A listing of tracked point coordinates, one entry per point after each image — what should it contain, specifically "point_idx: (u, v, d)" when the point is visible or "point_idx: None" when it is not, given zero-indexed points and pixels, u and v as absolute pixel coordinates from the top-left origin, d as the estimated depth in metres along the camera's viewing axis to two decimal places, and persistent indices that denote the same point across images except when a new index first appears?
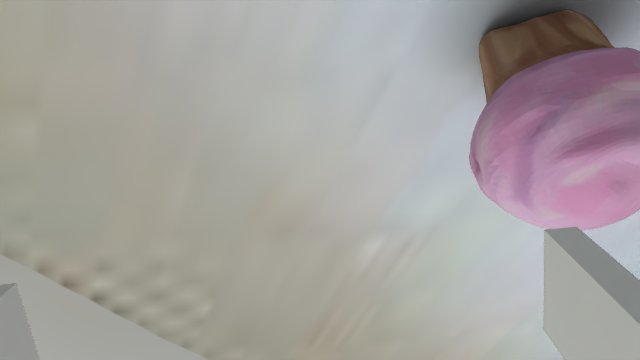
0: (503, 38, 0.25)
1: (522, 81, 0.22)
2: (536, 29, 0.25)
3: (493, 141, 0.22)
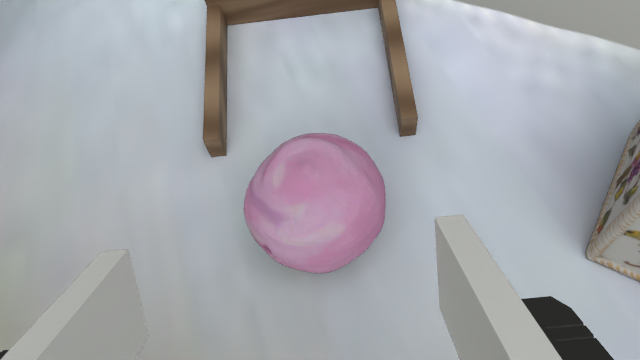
0: None
1: None
2: None
3: (248, 218, 0.33)
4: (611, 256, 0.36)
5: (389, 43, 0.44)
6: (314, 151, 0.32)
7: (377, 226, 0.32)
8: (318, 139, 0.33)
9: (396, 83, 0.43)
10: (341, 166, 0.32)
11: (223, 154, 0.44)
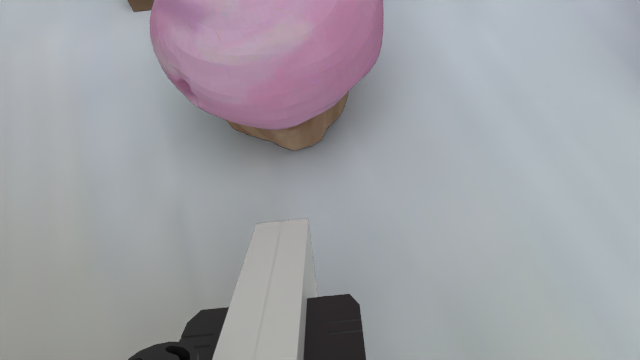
0: None
1: None
2: None
3: (153, 37, 0.20)
4: None
5: None
6: None
7: (370, 46, 0.19)
8: None
9: None
10: None
11: (150, 7, 0.30)
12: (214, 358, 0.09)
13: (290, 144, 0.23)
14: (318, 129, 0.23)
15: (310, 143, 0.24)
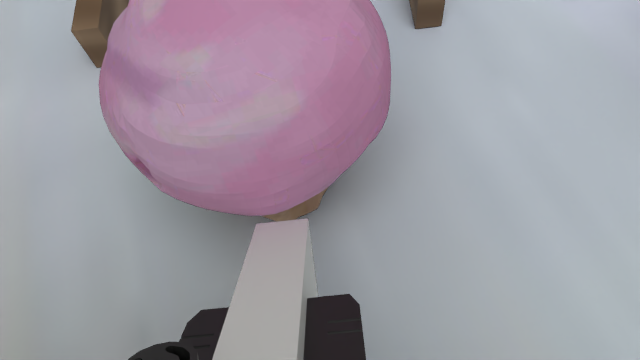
0: None
1: None
2: None
3: (102, 106, 0.16)
4: None
5: None
6: None
7: (377, 111, 0.15)
8: None
9: None
10: None
11: None
12: (214, 358, 0.09)
13: None
14: (313, 200, 0.19)
15: (304, 214, 0.20)
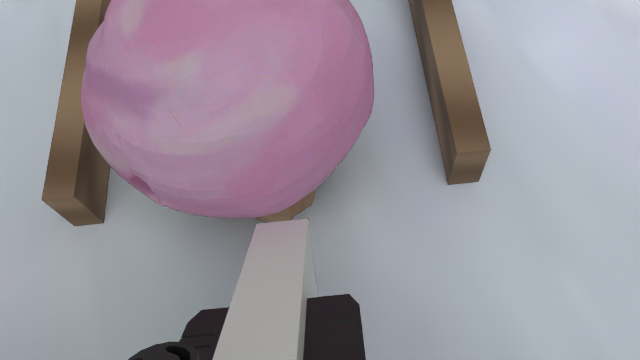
0: None
1: None
2: None
3: (89, 127, 0.15)
4: None
5: (423, 1, 0.23)
6: None
7: (365, 97, 0.15)
8: None
9: (441, 78, 0.21)
10: None
11: (97, 221, 0.22)
12: (214, 358, 0.09)
13: None
14: (308, 196, 0.19)
15: (299, 211, 0.20)
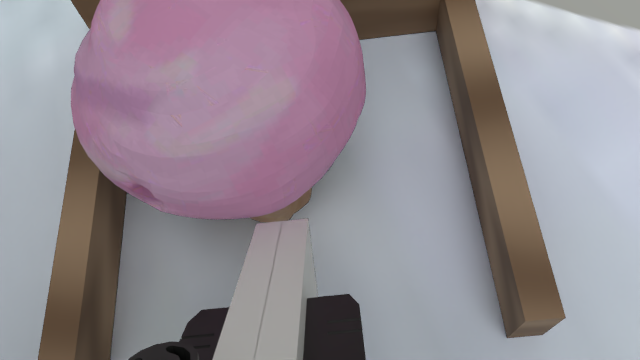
0: None
1: None
2: None
3: (84, 140, 0.15)
4: None
5: (476, 117, 0.20)
6: None
7: (359, 86, 0.16)
8: None
9: (502, 220, 0.18)
10: None
11: None
12: (214, 358, 0.09)
13: (280, 220, 0.19)
14: (306, 193, 0.19)
15: (298, 209, 0.20)
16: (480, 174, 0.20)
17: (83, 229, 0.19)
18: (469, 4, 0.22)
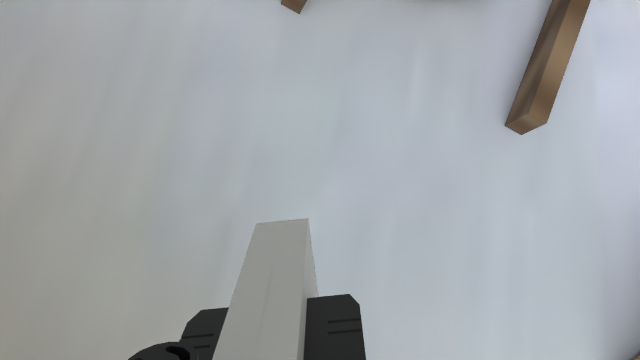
0: None
1: None
2: None
3: None
4: None
5: (568, 9, 0.33)
6: None
7: None
8: None
9: (547, 65, 0.32)
10: None
11: (296, 11, 0.31)
12: (214, 358, 0.09)
13: None
14: None
15: None
16: (547, 40, 0.33)
17: None
18: None
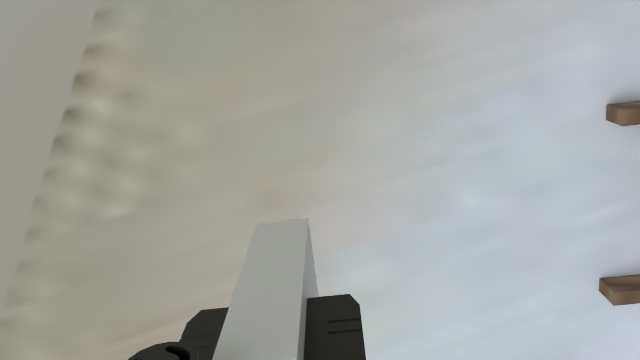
0: None
1: None
2: None
3: None
4: None
5: None
6: None
7: None
8: None
9: None
10: None
11: (607, 117, 0.43)
12: (214, 358, 0.09)
13: None
14: None
15: None
16: None
17: None
18: None
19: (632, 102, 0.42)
